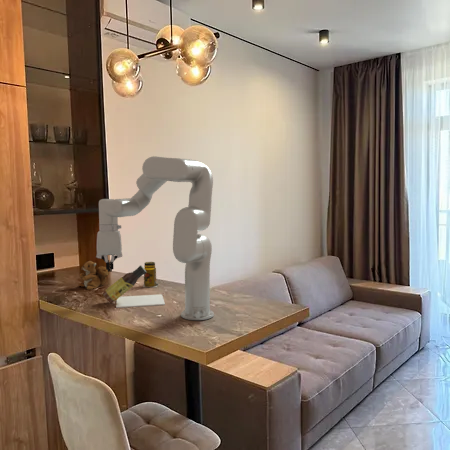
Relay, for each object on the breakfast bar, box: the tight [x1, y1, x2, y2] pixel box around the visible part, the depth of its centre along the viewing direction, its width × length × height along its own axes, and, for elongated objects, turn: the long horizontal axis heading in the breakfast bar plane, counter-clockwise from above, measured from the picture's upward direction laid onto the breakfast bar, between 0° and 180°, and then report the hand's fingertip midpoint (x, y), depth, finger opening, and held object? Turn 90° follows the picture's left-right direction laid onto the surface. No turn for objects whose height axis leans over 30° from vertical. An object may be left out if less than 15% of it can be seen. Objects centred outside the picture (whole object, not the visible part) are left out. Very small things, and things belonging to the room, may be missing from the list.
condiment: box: [142, 261, 160, 288], centre depth 213 cm, size 7×8×12 cm
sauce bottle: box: [102, 265, 146, 304], centre depth 182 cm, size 7×6×20 cm
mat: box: [115, 293, 166, 309], centre depth 184 cm, size 16×20×1 cm
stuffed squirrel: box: [78, 260, 110, 290], centre depth 211 cm, size 10×14×13 cm
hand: (109, 271), depth 180 cm, fingers closed
